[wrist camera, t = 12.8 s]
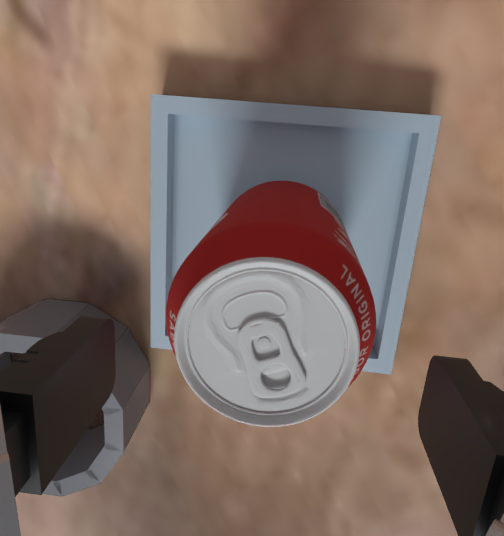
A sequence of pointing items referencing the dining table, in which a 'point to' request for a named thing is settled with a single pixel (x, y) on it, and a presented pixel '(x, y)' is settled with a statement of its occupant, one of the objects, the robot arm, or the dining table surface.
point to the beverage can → (272, 308)
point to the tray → (297, 170)
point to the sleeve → (115, 409)
